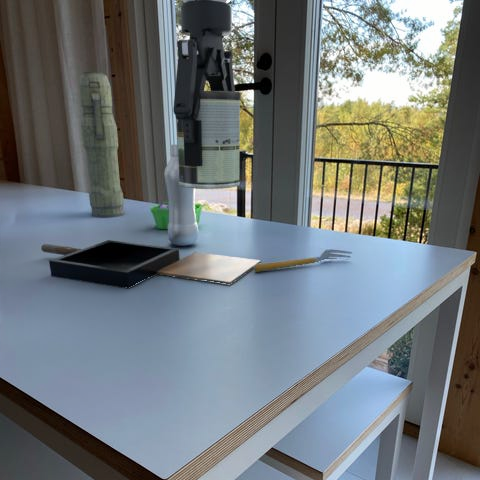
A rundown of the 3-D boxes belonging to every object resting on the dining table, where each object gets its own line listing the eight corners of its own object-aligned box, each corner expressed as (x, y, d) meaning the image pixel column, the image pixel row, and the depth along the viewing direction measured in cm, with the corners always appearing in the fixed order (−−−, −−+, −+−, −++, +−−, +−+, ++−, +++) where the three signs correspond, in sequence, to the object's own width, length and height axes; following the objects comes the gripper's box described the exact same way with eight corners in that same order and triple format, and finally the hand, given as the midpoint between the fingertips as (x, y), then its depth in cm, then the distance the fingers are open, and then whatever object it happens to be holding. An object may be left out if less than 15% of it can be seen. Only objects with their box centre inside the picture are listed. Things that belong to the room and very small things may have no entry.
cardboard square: (156, 274, 82) (156, 271, 82) (195, 255, 94) (195, 252, 93) (230, 285, 77) (230, 282, 76) (261, 263, 89) (261, 260, 88)
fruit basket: (150, 229, 114) (147, 181, 110) (162, 222, 122) (159, 177, 118) (196, 232, 112) (194, 182, 108) (205, 224, 120) (204, 178, 116)
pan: (10, 269, 84) (7, 253, 83) (73, 248, 98) (71, 234, 97) (128, 288, 75) (127, 271, 74) (179, 262, 89) (179, 248, 87)
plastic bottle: (205, 243, 102) (202, 144, 94) (185, 250, 97) (180, 146, 89) (182, 239, 105) (178, 143, 97) (161, 246, 100) (155, 145, 92)
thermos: (94, 219, 125) (77, 70, 111) (89, 211, 135) (73, 73, 121) (128, 217, 128) (115, 71, 114) (120, 209, 138) (108, 75, 124)
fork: (257, 265, 82) (352, 251, 89) (252, 260, 83) (347, 246, 90) (255, 278, 83) (349, 262, 90) (251, 272, 84) (344, 258, 92)
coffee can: (167, 187, 76) (162, 90, 71) (194, 180, 85) (191, 93, 80) (227, 190, 73) (227, 89, 68) (248, 182, 82) (249, 93, 77)
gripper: (191, -18, 58) (196, 170, 67) (258, 15, 77) (255, 158, 86) (140, -13, 61) (151, 168, 70) (216, 19, 80) (218, 157, 89)
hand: (209, 162), depth 78 cm, fingers closed on coffee can, 10 cm apart
